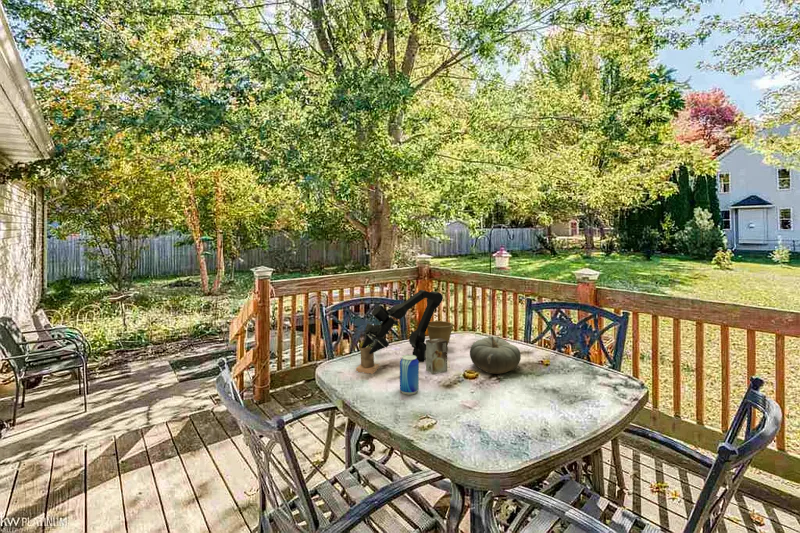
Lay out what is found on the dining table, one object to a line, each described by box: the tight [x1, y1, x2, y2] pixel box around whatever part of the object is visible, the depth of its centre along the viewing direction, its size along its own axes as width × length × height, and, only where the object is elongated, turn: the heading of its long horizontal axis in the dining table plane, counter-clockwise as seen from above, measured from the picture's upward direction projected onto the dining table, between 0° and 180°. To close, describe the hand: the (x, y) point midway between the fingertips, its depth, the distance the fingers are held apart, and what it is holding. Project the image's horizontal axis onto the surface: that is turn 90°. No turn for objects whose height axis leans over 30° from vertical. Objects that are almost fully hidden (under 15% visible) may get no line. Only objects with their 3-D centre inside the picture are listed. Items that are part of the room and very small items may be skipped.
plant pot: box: [427, 320, 453, 347], centre depth 244 cm, size 15×15×16 cm
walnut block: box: [360, 346, 375, 368], centre depth 212 cm, size 5×5×9 cm
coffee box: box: [425, 338, 448, 375], centre depth 211 cm, size 9×6×16 cm
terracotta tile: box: [355, 363, 380, 375], centre depth 213 cm, size 9×9×2 cm
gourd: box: [469, 335, 522, 375], centre depth 214 cm, size 25×25×17 cm
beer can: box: [399, 354, 420, 396], centre depth 185 cm, size 8×8×16 cm
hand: (365, 351), depth 211 cm, fingers open, 9 cm apart
